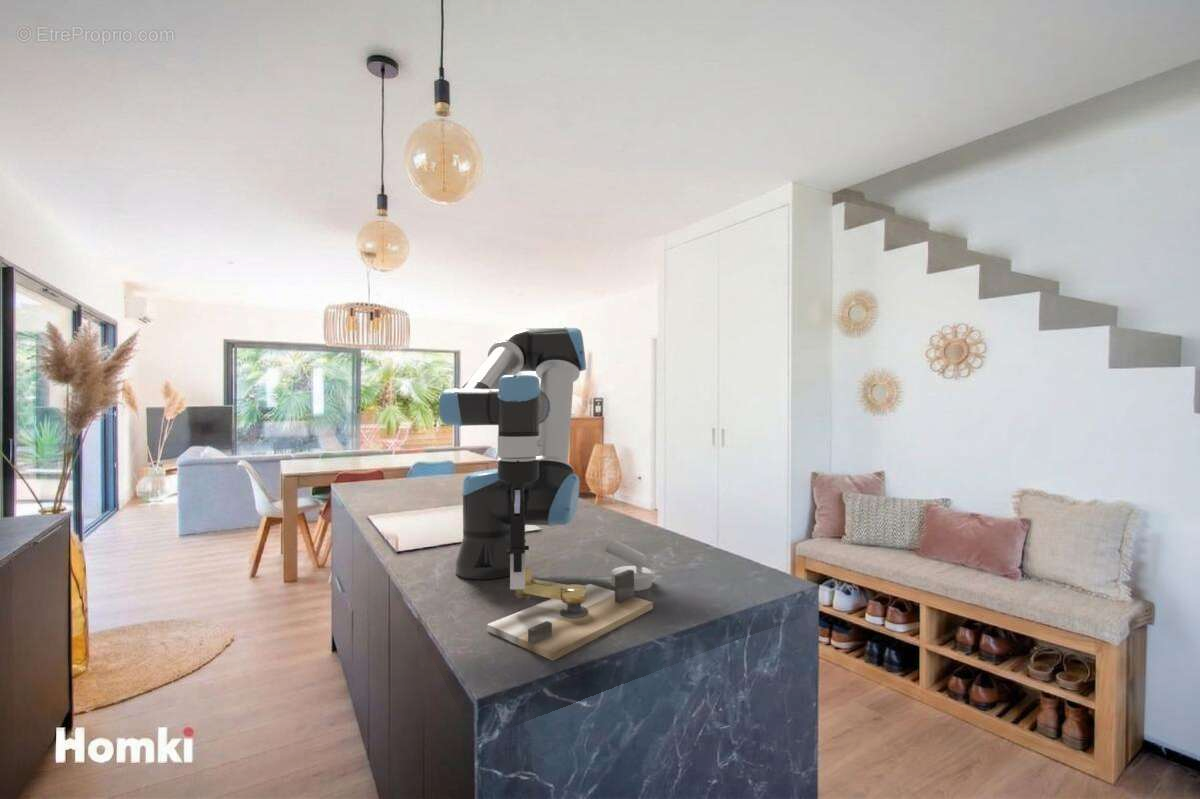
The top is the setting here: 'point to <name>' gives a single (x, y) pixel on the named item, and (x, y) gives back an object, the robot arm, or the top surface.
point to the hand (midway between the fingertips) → (517, 587)
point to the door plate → (572, 619)
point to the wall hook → (633, 557)
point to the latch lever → (551, 590)
